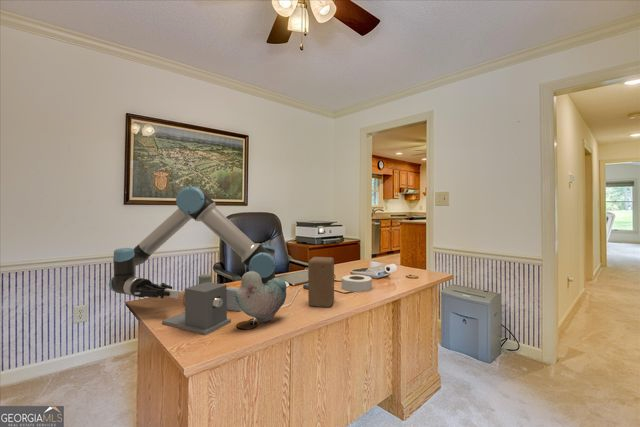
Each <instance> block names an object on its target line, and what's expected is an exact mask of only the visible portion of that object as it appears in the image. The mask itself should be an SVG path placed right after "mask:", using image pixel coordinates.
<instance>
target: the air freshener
mask: <svg viewBox="0 0 640 427" xmlns="http://www.w3.org/2000/svg"><path fill="white" fill-rule="evenodd" d="M212 279H213V278H212V274H210V273H206V274H205V273H204V274H200V275H198V284H202V283H205V282H210V283H213V280H212Z"/></svg>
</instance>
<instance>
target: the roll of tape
mask: <svg viewBox="0 0 640 427" xmlns="http://www.w3.org/2000/svg"><path fill="white" fill-rule="evenodd" d="M372 281H373V278H372V277H371V276H368V275H362V274H345V275H344V276H342V277H341V288H342V290H344V291H347V292H353V293H363V292H364V293H365V292H369V291H371V290H372V288H373V286H372V284H373V282H372Z"/></svg>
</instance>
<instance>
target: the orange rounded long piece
mask: <svg viewBox="0 0 640 427" xmlns="http://www.w3.org/2000/svg"><path fill="white" fill-rule="evenodd" d="M222 304H223V300H222V299H221V298H213V306H215V307H221V306H222ZM182 305H183V307H185V293H184V294H183V297H182Z"/></svg>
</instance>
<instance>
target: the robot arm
mask: <svg viewBox="0 0 640 427" xmlns="http://www.w3.org/2000/svg"><path fill="white" fill-rule="evenodd" d="M175 203H176V206H177V209H176V210H174V212H173V213H172V214H170V216H168V217H167V218H166V219H165V220H164V221H163V222H162V223H161V224H160V225H158V226H157V227H156V228H154V230H153V231H152V232H151V233H150V234H148V235H147V236H146V237H145V238H144V239H143V240H141V241H140V242H139V243H138V244H137V245H135V247H134V248H132V247H123V248H121V247H120V248H116V249H115V250H114V251H113V257H112V259H113V276H112V277H111V278H110V280H109V283H108V287H109V289H110V290H111V291H112V292H115V293H117V294H124V295H128V296H132V297H136V298H157V299H158V298H159V297H160V299H164V297H165V298H166V297H167V298H172V299H179V298H180V290H179V289H173V286H171V285H169V284H166V283H165V282H161V283H160V284H156V283H153V282H152V281H151V280H150V279H148V278H143V277H142V278H141V277H136V276H135V275H136V274H135V272H136V269H135V267H137V266H139V265H142V264H144V263H145V262H147V260H149V258H150V257H151V256H152V255H153V254H154V253H155V252H156V251H157V250H158V249H160V247H162V246H163V245H164V244H165V243H166V242H167V241H168V240H169V239H170V238H172V236H174V235H175V234H176V233H177V232H178V231H179V230H181V229H182V228H183V227H184V226H185V225H186V224H187V223H188V222H189V221H190V220H194V221H195V222H202V224H204V225H205V226H206V227H207V228H209V229H210V231H211V232H213V233H214V234H215V235H216V236H217V237H218V238H219V239H221V240H222V241H223V242H224V243H225V244H226V245H227V246H228V247H230V249H232V250H233V251H234V252H235V253H236V254H237V255H238V256H239V257H240V258H241V263H242V264H243V265H244V266H245V267H247V268H248V269H249V271H254V272H257V273H258V274H259V275H260V277H261V280H262V283H263V284H266V283H267V282H268V281H269V280H272V279H273V278H277V277H276V273H275V272H276V267H277V266H276V264H277V261H276V258H275V257H276V256H275V255H276V254H275V252H276V249H275V246H274V245H262V244H261V243H259V242H258V243H255V242H253V240H251V239H250V238H249V237H248V236H247V234H245V233H244V232H243V231H242V230H240V228H239V227H237V225H235V224H234V223H233V222H232V221H231V220H229V219H228V217H227V216H225V215H224V214H223V213H222V212H221V211H220V210H219V209H218V208H217V207H216V202H215V201H214V200H213V199H212V198H211V196H210V194H209V192H207V191H206V190H205V189H203V188H200V187H197V186H186V187H185V186H184V188H181V189H180V191H178V193H177V194H176V197H175Z"/></svg>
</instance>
